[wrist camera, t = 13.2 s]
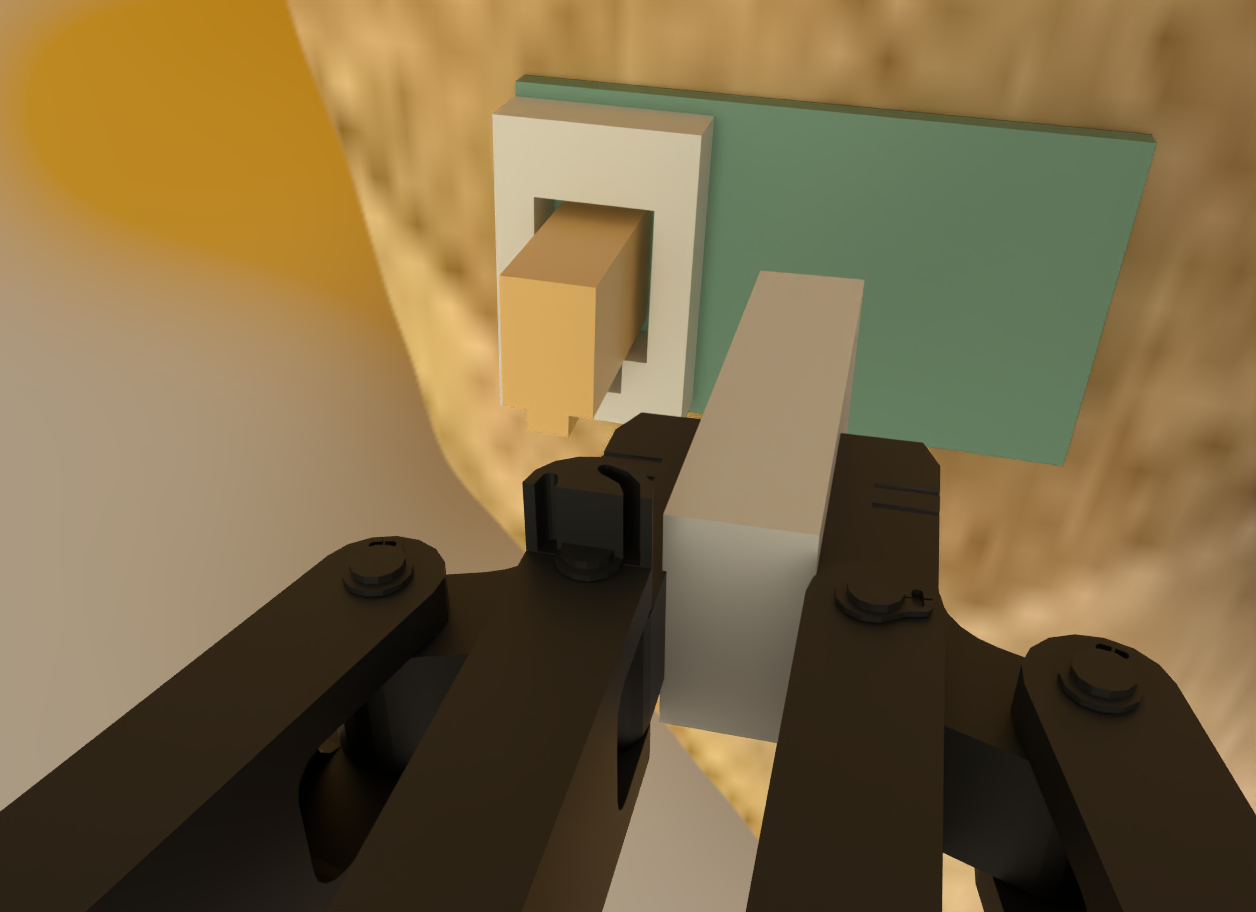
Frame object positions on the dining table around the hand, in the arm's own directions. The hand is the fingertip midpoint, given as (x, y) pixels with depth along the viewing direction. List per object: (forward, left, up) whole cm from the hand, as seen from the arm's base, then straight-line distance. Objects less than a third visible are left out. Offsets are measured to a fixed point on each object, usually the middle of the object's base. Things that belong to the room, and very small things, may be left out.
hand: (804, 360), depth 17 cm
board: (+1, +8, -24) cm, 25 cm away
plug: (+8, +8, -23) cm, 25 cm away
